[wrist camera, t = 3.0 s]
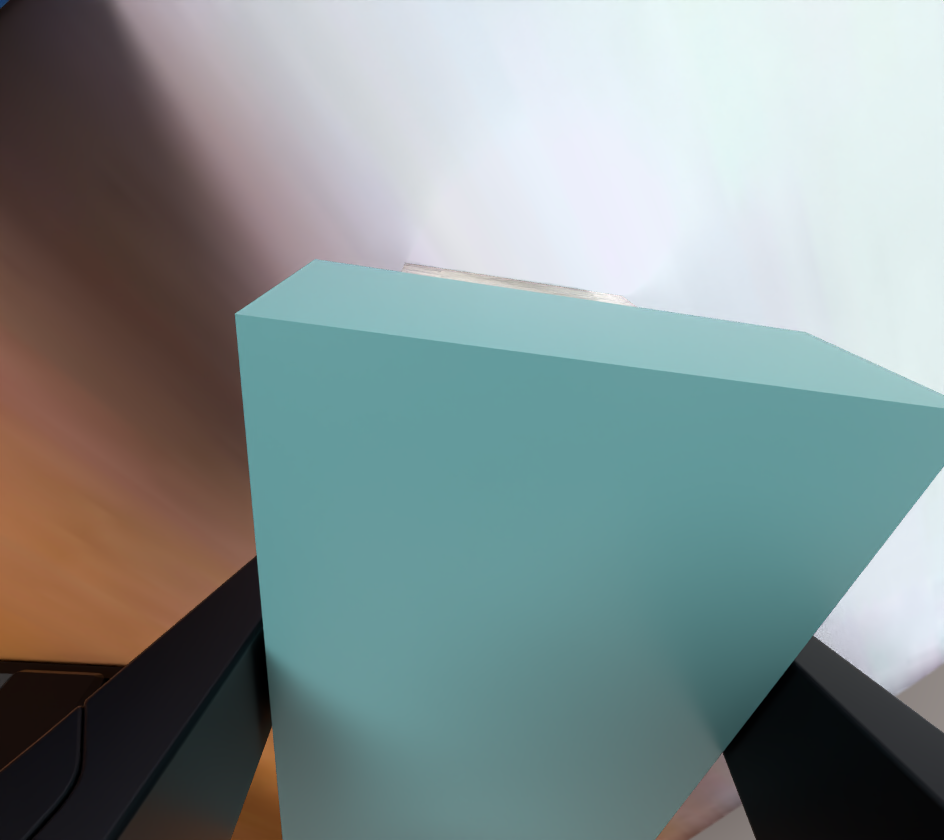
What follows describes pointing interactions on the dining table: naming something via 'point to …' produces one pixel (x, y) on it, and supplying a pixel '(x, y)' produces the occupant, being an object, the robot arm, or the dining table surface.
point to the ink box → (3, 3)
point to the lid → (543, 544)
